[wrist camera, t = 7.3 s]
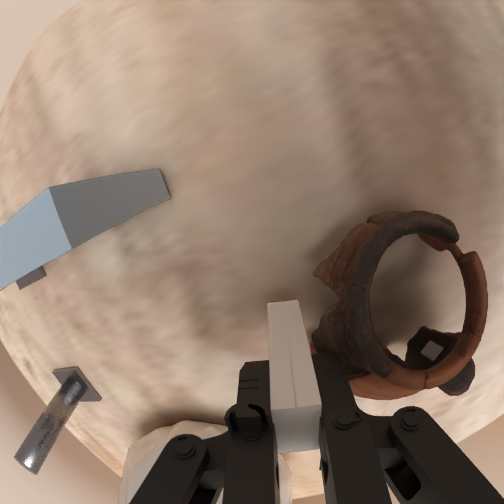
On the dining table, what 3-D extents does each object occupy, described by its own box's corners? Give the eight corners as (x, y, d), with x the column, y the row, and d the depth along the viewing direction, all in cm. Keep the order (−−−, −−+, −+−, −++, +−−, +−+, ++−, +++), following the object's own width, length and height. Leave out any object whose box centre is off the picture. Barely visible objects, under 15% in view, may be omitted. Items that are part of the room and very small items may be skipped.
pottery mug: (259, 332, 16) (271, 350, 8) (340, 211, 18) (395, 145, 10) (398, 416, 15) (470, 457, 7) (457, 305, 17) (538, 293, 9)
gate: (18, 275, 15) (-62, 333, 7) (10, 255, 15) (-74, 307, 6) (170, 198, 13) (52, 260, 5) (159, 168, 13) (26, 192, 4)
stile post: (77, 366, 18) (17, 454, 9) (101, 398, 19) (55, 486, 10) (54, 369, 18) (-2, 445, 9) (76, 398, 20) (31, 475, 10)
